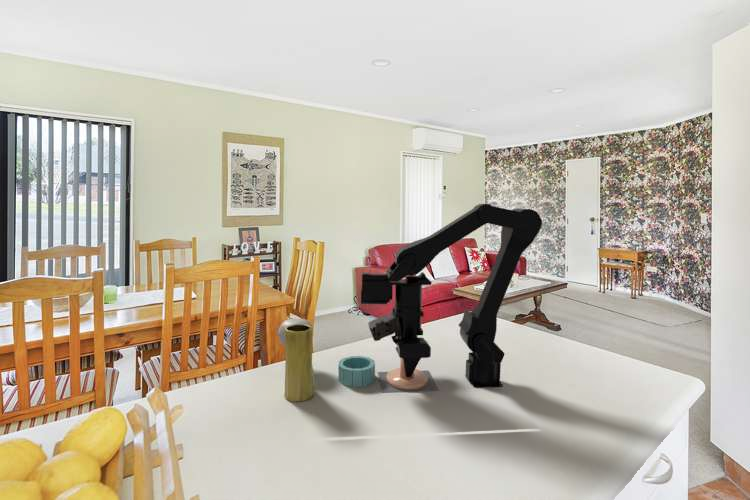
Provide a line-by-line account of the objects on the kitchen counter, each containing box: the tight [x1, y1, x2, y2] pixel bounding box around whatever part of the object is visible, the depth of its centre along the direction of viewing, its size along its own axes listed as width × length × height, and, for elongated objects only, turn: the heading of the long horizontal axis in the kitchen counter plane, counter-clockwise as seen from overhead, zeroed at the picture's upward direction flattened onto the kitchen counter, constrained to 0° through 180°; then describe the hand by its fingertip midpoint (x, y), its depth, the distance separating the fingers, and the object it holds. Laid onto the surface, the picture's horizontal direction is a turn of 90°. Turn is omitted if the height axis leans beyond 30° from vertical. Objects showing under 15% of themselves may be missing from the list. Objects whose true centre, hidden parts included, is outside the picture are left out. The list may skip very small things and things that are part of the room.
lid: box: [387, 357, 428, 390], centre depth 88 cm, size 9×9×6 cm
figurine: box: [277, 317, 314, 348], centre depth 95 cm, size 8×8×12 cm
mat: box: [377, 370, 440, 394], centre depth 89 cm, size 12×10×1 cm
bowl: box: [338, 355, 376, 388], centre depth 89 cm, size 8×8×4 cm
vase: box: [283, 324, 315, 402], centre depth 82 cm, size 6×6×14 cm
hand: (407, 373), depth 88 cm, fingers closed on lid, 3 cm apart
